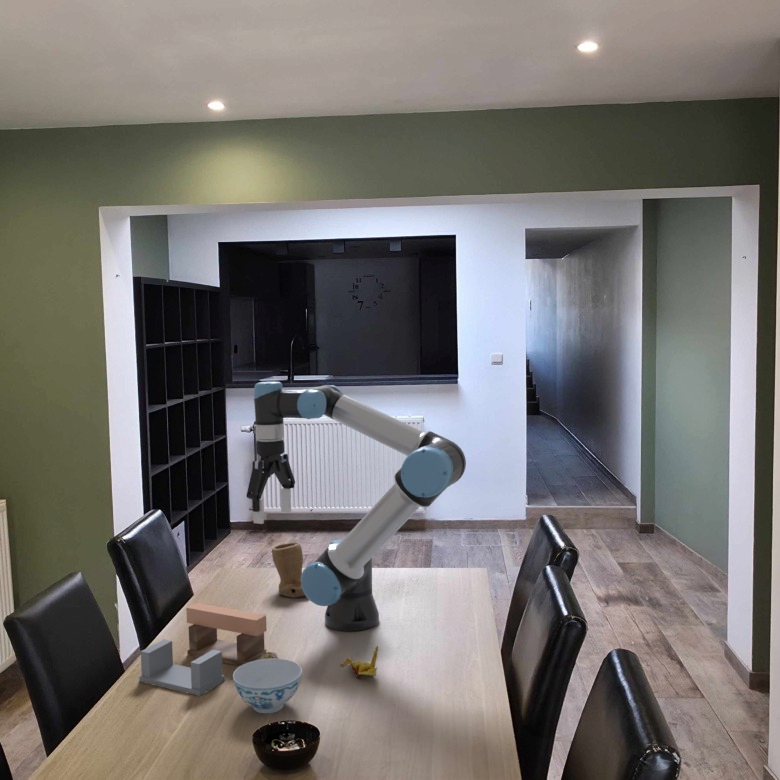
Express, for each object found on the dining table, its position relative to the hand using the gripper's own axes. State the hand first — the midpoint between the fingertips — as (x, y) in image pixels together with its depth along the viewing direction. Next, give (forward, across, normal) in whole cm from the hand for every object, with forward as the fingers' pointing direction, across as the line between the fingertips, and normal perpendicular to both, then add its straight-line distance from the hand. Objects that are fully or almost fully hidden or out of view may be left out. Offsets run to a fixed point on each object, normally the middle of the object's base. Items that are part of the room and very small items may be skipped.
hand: (272, 517), depth 222 cm
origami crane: (+32, +16, +35) cm, 50 cm away
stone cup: (+32, -30, -14) cm, 46 cm away
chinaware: (+32, +38, +22) cm, 54 cm away
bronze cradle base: (+31, +18, -3) cm, 37 cm away
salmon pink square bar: (+24, +18, -3) cm, 31 cm away
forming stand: (+31, +35, -4) cm, 47 cm away
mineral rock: (+32, +22, +10) cm, 40 cm away
